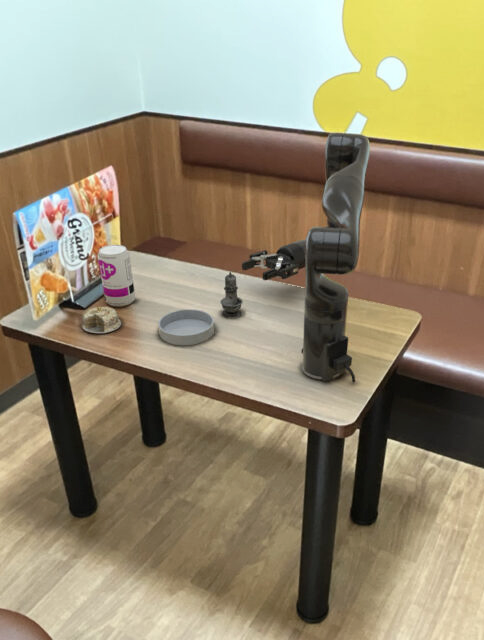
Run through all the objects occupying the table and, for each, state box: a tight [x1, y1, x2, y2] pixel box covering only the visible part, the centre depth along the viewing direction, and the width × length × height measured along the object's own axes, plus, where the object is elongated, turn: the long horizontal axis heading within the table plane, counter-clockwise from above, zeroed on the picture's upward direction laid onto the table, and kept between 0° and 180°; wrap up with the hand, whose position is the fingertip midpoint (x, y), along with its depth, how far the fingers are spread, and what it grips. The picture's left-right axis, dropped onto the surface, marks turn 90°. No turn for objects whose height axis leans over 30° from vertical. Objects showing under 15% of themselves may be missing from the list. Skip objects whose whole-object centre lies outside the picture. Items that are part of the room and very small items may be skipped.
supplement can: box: [97, 244, 136, 308], centre depth 164 cm, size 8×8×15 cm
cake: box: [81, 306, 122, 334], centre depth 155 cm, size 10×10×5 cm
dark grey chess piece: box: [219, 271, 244, 319], centre depth 158 cm, size 6×6×12 cm
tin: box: [157, 308, 215, 346], centre depth 153 cm, size 14×14×3 cm
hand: (253, 271), depth 160 cm, fingers open, 8 cm apart
